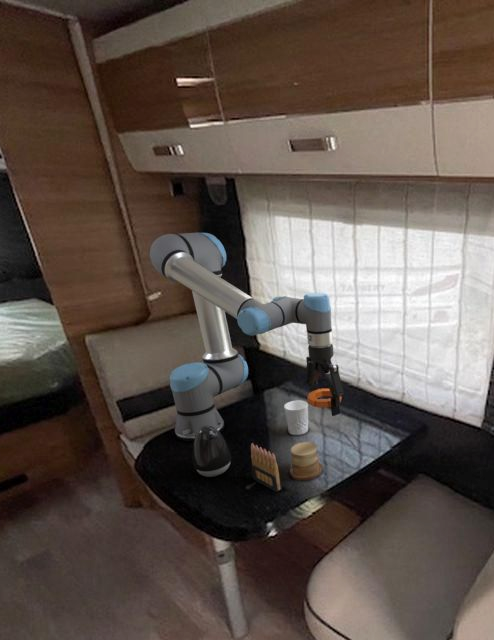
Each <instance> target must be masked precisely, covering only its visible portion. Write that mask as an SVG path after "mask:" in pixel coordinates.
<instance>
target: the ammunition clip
mask: <svg viewBox="0 0 494 640" xmlns="http://www.w3.org/2000/svg"><path fill="white" fill-rule="evenodd" d="M250 454H251V455H250V458H251V464H250V466H251V474H252V479H253V480H254V481H256V482H258V483H260V484H261V485H263V486H265V487H266V488H268V489H271V490H272V491H274V492H275V493H277V492H278V493H279V491H281V490H283V484H282V478H281V477H282V476H281V473H280V472H279V466H278V464H277V462H278V461H277V458H276V455H275V453H274V452H272V453H271V452H270V450H268V451H267V449H266V448H262V447H261V446H258V445H257V444H254V443H253V442H251V444H250Z"/></svg>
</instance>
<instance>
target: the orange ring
mask: <svg viewBox="0 0 494 640" xmlns="http://www.w3.org/2000/svg"><path fill="white" fill-rule="evenodd" d="M321 397H329V398H321ZM330 397H332V395H331V392H330V390H329V388H319V389H318V390H315V391H312V392H311V393H310V392H309V393H308V395H307V397H306V398H307V399H306V401H307V403H308V405H309V406H312V407H313V408H331V398H330ZM342 397H343V396H341V397H340V403H341V402H342ZM317 398H319V399H317Z"/></svg>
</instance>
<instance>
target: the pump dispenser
mask: <svg viewBox="0 0 494 640" xmlns="http://www.w3.org/2000/svg"><path fill="white" fill-rule="evenodd" d="M192 445H193V446H192V465H193V468H194V469H195V470H196V471H197V473H198V474H199V475H201V476H203V477H207V478H214V477H218V476H220V475H222V474H224V473H226V471H227V470H228V469H229V467H230V465H231V462H232V453H231V450H230V447H229V445H228V443H227V441H226V439H225V437H224V436H223V435H222V432H219V431H218V430H217V429H216V428H215V427H213V426H209V425H208V426H203V427H201V428H200V429H199V430H198V432H197V433H196V436H195V439H194V441H193V444H192Z"/></svg>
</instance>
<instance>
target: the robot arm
mask: <svg viewBox="0 0 494 640" xmlns="http://www.w3.org/2000/svg"><path fill="white" fill-rule="evenodd" d="M149 257H150V261H151V264H152V266H153V267H154V269H155V270H156V271H157V273H159V274H160V275H161V276H163V277H164V278H165V279H167V280H169V281H170V282H172V283H180V284H182V285H183V286H184V287H186V288H187V289H189V290H191V292H192V297H193V302H194V306H195V310H196V314H197V318H198V323H199V327H200V332H201V336H202V340H203V345H204V349H205V352H204V354H202V362H197V361H195V362H191V363H185V364H182V365H180V366H177V367H175V368H174V369H173V370H172V371H171V373H170V374H169V383H170V385H169V387H170V389H171V393H172V396H173V400H174V401H173V402H174V405H175V410H176V423H175V428H174V433H175V437H176V439H178V440H180V441H184V442H194V439H195V436H196V433H197V432H198V430H199V429H200V428H201V427H203V426H208V425H209V426H213V427H215V428H216V429H217V430H218V431H219V432H220V433H222V432H223V431H224V429H225V422H224V421H225V420H224V419H223V418H222V416H221V415H220V413H219V411H218V409H217V407H216V404H215V399H214V398H215V397H217V396H219V395H221V394H223V393H226V392H228V391H230V390H233V389H237V388H238V387H239V386H240V385H243V384H244V383H245V382H246V381H247V379H248V377H249V376H248V375H249V366H248V363H247V361H246V360H244V356H243V355H241V354H239V353H238V350H236V349H235V348H234V347H232V346H233V345H232V341H231V336H230V331H229V325H228V321H227V317H226V313H227V314H228V315H229V316H231V317H233V318H234V319H236V320H237V321H236V322H237V325H238V327H239V328H240V329H241V331H242V333H244V334H245V335H247V336H252V337H253V336H257V335H262V334H266V333H267V332H271V331H272V330H276V329H279V328H282V327H285V326H287V325H290V324H299V325H305V328H306V336H307V337H306V339H307V345H308V346H307V350H308V356H306V358H305V360H306V367H305V377H304V382H305V383H306V384H307V385H308V386H309V393H311V392H312V391H315V390H318V389H320V388H319V382H318V381H319V378H320V375H321V376H322V378H324V380H325V382H326V384H327V387H328V389H329V390H330V392H331V395H332V397H331V396H329V398H331V407H330V410H331V416H332V417H336V416H338V415H341V407H340V406H341V402H340V397H341V396H342V397H343V396H345V391H344V388H343V384H342V380H341V376H340V375H341V374H340V372H339V371H340V369H339V365H338V364H333V362H332V358H333V357H334V354H335V353H334V345H333V343H334V338H333V328H332V306H331V301H330V296H329V294H327V293H325V292H309V293H306V294H304V296H303V298H299V297H292V296H291V297H290V296H275V297H273V299H272V300H271V301H270V302H266V303H262V302H260V301H259V300H257V299H256V298H253V297H252V296H250V295H248V294H247V293H246V292H244V291H242V290H241V289H239V288H238V287H236V286H234V285H233V284H231V283H229V282H228V281H227V280H225V279H223V278H221V277H222V276H223V273H222V268H223V267H224V266H225V265H226V262H227V253H226V250H225V247H224V245H223V244H222V242H221V241H220V239H218V238H217V237H216V236H215V235H214V234H211V233H208V232H198V231H197V232H185V233H167V234H163V235H161V236H158V237H157V238H156V239H155V240H154V241H153V243H152V244H151V246H150V250H149ZM317 399H320V397H319V398H317Z"/></svg>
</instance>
